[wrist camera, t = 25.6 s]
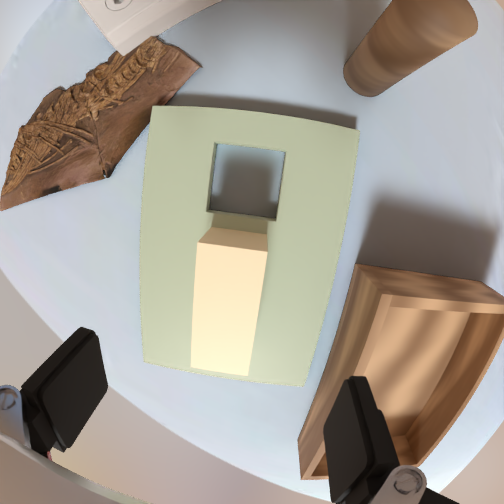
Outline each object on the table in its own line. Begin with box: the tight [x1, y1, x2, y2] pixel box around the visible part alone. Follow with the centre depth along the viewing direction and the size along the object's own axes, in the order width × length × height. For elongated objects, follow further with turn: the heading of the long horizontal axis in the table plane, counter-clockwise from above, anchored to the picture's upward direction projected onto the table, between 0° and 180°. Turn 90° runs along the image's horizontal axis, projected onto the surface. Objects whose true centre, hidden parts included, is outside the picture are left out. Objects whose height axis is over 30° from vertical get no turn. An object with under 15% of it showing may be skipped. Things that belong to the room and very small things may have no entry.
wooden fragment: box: [0, 36, 203, 211], centre depth 20 cm, size 26×11×1 cm, turn 111°
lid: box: [140, 106, 360, 387], centre depth 20 cm, size 15×22×6 cm
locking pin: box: [343, 0, 478, 97], centre depth 12 cm, size 4×4×12 cm
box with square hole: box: [298, 263, 504, 480], centre depth 22 cm, size 15×22×6 cm
